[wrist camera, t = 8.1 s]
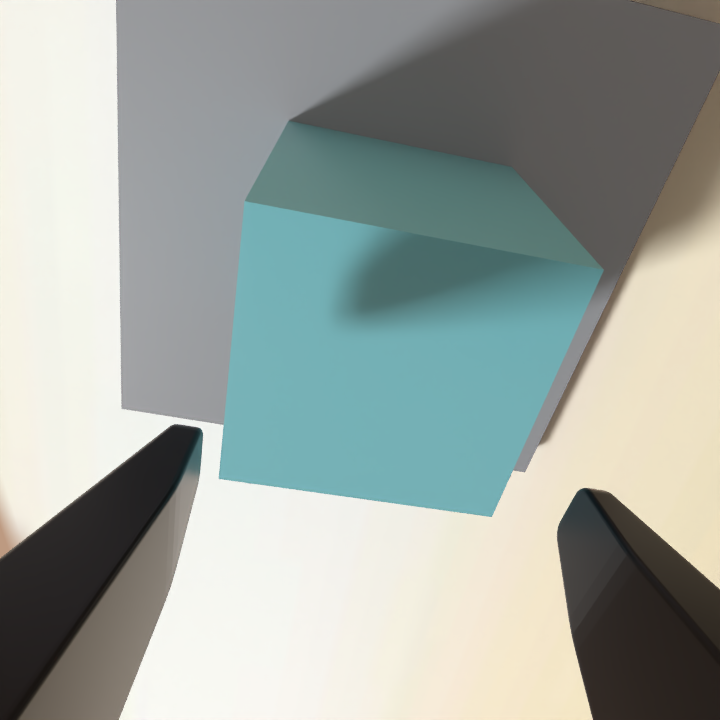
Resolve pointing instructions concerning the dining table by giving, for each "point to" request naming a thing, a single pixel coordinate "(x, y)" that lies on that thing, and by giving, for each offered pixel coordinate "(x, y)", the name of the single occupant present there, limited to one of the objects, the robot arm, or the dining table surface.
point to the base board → (384, 122)
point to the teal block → (394, 322)
